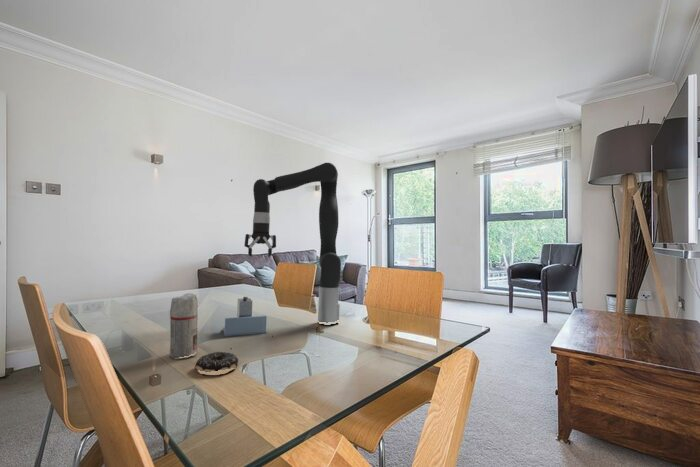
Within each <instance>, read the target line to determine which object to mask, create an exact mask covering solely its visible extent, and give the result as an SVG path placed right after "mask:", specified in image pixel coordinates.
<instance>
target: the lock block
mask: <svg viewBox="0 0 700 467" xmlns="http://www.w3.org/2000/svg"><path fill="white" fill-rule="evenodd" d="M236 307H237V310H236V317H252V316H253V299H251V298H249V297H248V296H243V298H237V305H236Z"/></svg>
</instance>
